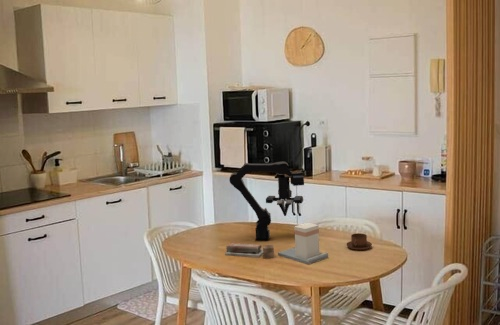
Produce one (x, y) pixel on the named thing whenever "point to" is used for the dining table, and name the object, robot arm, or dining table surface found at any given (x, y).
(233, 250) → the packaged product
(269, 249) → the walnut block
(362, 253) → the dining table surface
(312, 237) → the carton
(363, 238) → the cup and saucer
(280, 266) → the dining table surface
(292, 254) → the podium
